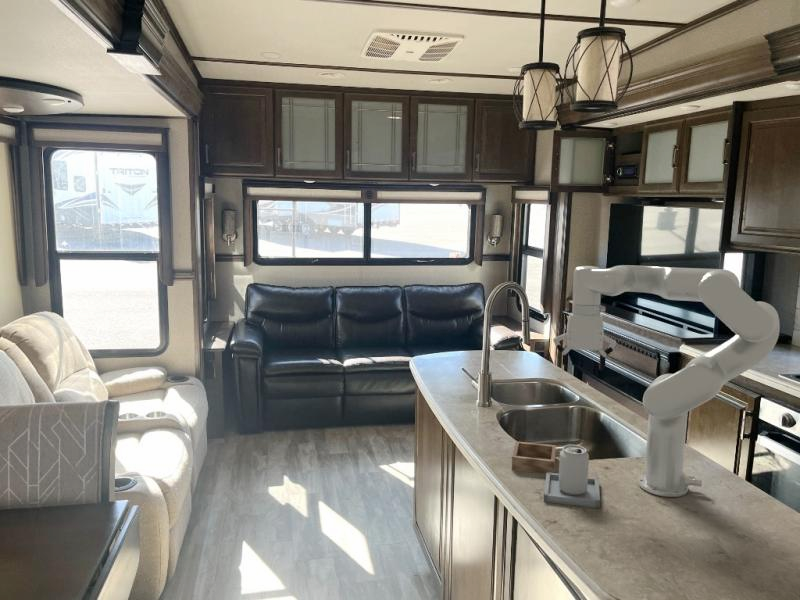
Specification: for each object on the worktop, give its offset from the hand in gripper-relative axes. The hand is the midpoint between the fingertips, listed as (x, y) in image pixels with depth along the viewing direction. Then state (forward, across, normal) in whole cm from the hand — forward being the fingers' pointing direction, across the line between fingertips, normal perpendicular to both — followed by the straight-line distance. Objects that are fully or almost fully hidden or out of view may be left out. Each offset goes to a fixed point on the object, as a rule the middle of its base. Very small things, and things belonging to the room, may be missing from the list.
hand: (583, 368), depth 178 cm
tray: (+30, +2, +17) cm, 35 cm away
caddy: (+30, +13, +1) cm, 33 cm away
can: (+30, +2, +17) cm, 34 cm away
